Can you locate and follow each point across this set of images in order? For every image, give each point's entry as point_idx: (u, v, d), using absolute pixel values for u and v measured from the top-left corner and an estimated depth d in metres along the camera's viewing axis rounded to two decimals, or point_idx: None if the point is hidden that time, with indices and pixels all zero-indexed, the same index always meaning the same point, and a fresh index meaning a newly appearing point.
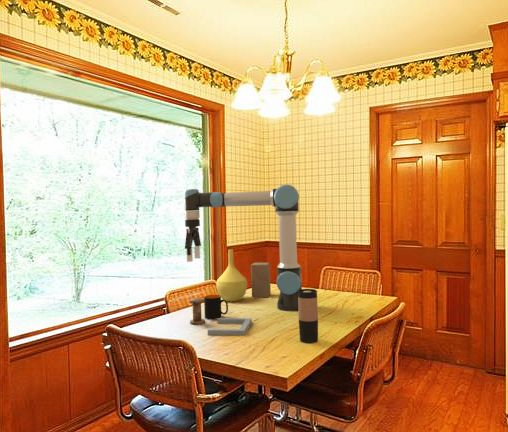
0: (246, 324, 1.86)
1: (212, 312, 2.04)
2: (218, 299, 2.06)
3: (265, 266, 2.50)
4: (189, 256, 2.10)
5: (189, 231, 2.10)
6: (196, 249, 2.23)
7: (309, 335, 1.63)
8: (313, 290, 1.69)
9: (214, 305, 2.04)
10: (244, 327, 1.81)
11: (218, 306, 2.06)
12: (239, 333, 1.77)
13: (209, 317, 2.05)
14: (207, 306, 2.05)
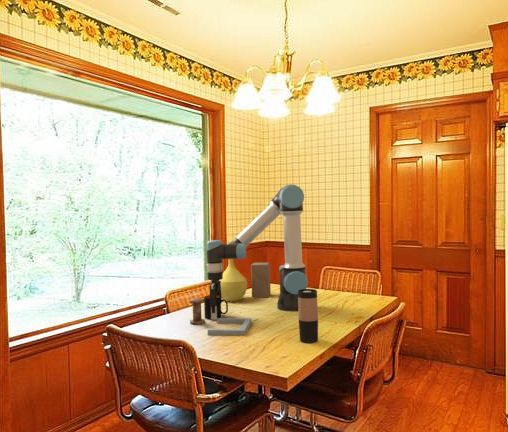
0: (246, 324, 1.86)
1: None
2: (218, 299, 2.06)
3: (265, 266, 2.50)
4: (213, 314, 2.03)
5: (212, 288, 2.01)
6: None
7: (309, 335, 1.63)
8: (313, 290, 1.69)
9: None
10: (244, 327, 1.81)
11: (218, 306, 2.06)
12: (239, 333, 1.77)
13: (209, 317, 2.05)
14: (207, 306, 2.05)
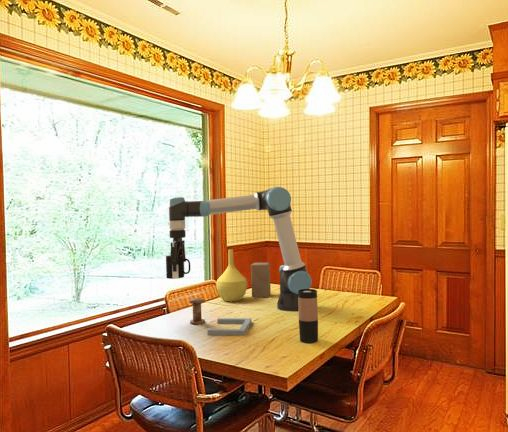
0: (246, 324, 1.86)
1: None
2: (180, 258, 1.98)
3: (265, 266, 2.50)
4: (175, 273, 1.96)
5: (173, 245, 1.94)
6: None
7: (309, 335, 1.63)
8: (313, 290, 1.69)
9: None
10: (244, 327, 1.81)
11: (180, 265, 1.98)
12: (239, 333, 1.77)
13: (170, 276, 1.97)
14: (168, 265, 1.97)
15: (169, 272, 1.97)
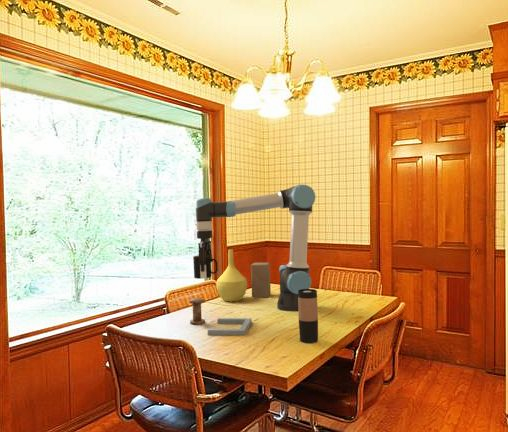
0: (246, 324, 1.86)
1: None
2: (207, 258, 2.01)
3: (265, 266, 2.50)
4: (203, 273, 1.99)
5: (201, 246, 1.97)
6: None
7: (309, 335, 1.63)
8: (313, 290, 1.69)
9: None
10: (244, 327, 1.81)
11: (207, 265, 2.01)
12: (239, 333, 1.77)
13: (198, 276, 2.00)
14: (196, 265, 2.00)
15: (197, 272, 2.00)
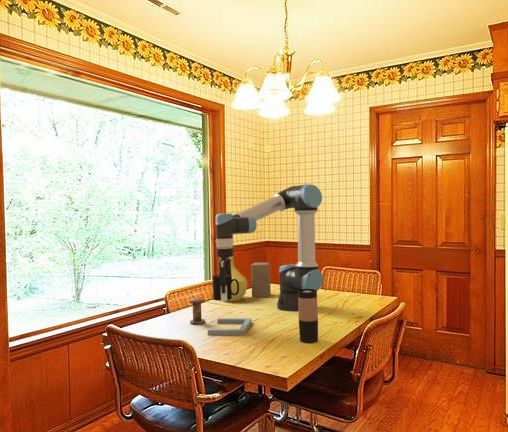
0: (246, 324, 1.86)
1: None
2: (228, 278, 1.85)
3: (265, 266, 2.50)
4: (223, 294, 1.83)
5: (222, 265, 1.81)
6: None
7: (309, 335, 1.63)
8: (313, 290, 1.69)
9: None
10: (244, 327, 1.81)
11: (228, 286, 1.85)
12: (239, 333, 1.77)
13: (218, 298, 1.84)
14: (216, 286, 1.84)
15: (217, 294, 1.84)
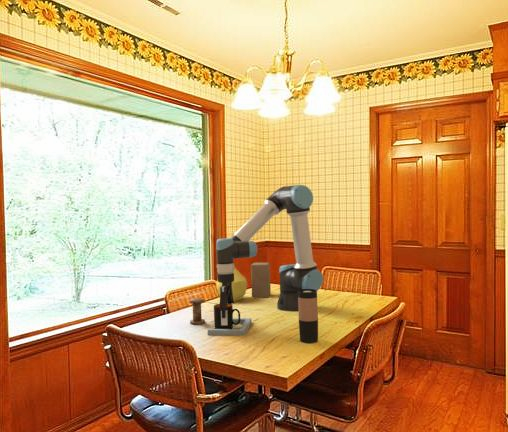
0: (246, 324, 1.86)
1: None
2: (229, 308, 1.85)
3: (265, 266, 2.50)
4: (224, 319, 1.82)
5: (223, 290, 1.81)
6: None
7: (309, 335, 1.63)
8: (313, 290, 1.69)
9: None
10: (244, 327, 1.81)
11: (229, 316, 1.85)
12: (239, 333, 1.77)
13: (220, 328, 1.84)
14: (217, 316, 1.85)
15: (218, 324, 1.84)
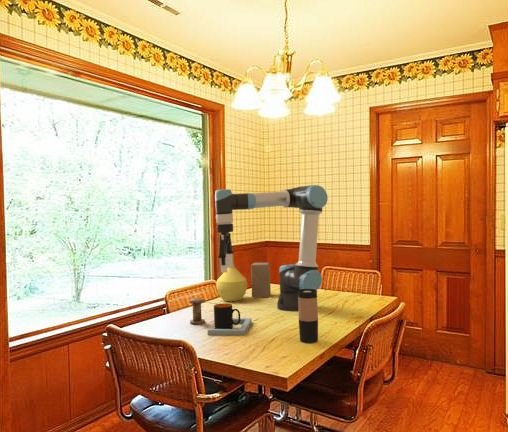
0: (246, 324, 1.86)
1: (223, 323, 1.84)
2: (229, 308, 1.86)
3: (265, 266, 2.50)
4: (223, 266, 1.84)
5: (223, 238, 1.84)
6: (228, 257, 1.97)
7: (309, 335, 1.63)
8: (313, 290, 1.69)
9: (225, 315, 1.84)
10: (244, 327, 1.81)
11: (229, 316, 1.85)
12: (239, 333, 1.77)
13: (220, 328, 1.84)
14: (217, 316, 1.85)
15: (218, 324, 1.84)
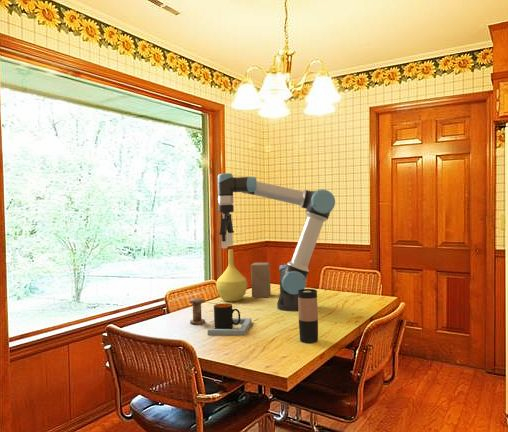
0: (246, 324, 1.86)
1: (223, 323, 1.84)
2: (229, 308, 1.86)
3: (265, 266, 2.50)
4: (224, 242, 2.03)
5: (224, 216, 2.03)
6: (229, 236, 2.16)
7: (309, 335, 1.63)
8: (313, 290, 1.69)
9: (225, 315, 1.84)
10: (244, 327, 1.81)
11: (229, 316, 1.85)
12: (239, 333, 1.77)
13: (220, 328, 1.84)
14: (217, 316, 1.85)
15: (218, 324, 1.84)
